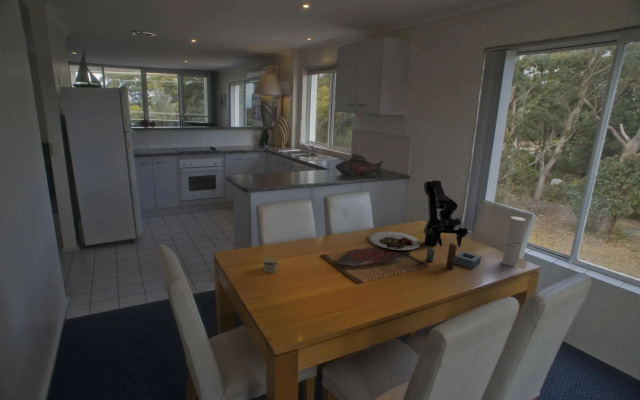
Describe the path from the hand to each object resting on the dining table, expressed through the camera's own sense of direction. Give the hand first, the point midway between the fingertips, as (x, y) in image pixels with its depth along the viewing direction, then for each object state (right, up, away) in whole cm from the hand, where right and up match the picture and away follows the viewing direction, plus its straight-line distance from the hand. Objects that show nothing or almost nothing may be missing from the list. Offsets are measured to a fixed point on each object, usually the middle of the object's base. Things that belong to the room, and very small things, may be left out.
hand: (450, 246), depth 184 cm
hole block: (+11, -9, +6) cm, 16 cm away
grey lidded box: (-90, -10, -15) cm, 91 cm away
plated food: (-22, -2, +31) cm, 38 cm away
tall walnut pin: (-1, -11, -1) cm, 11 cm away
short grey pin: (-9, -8, +6) cm, 14 cm away
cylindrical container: (+35, -10, +10) cm, 38 cm away
